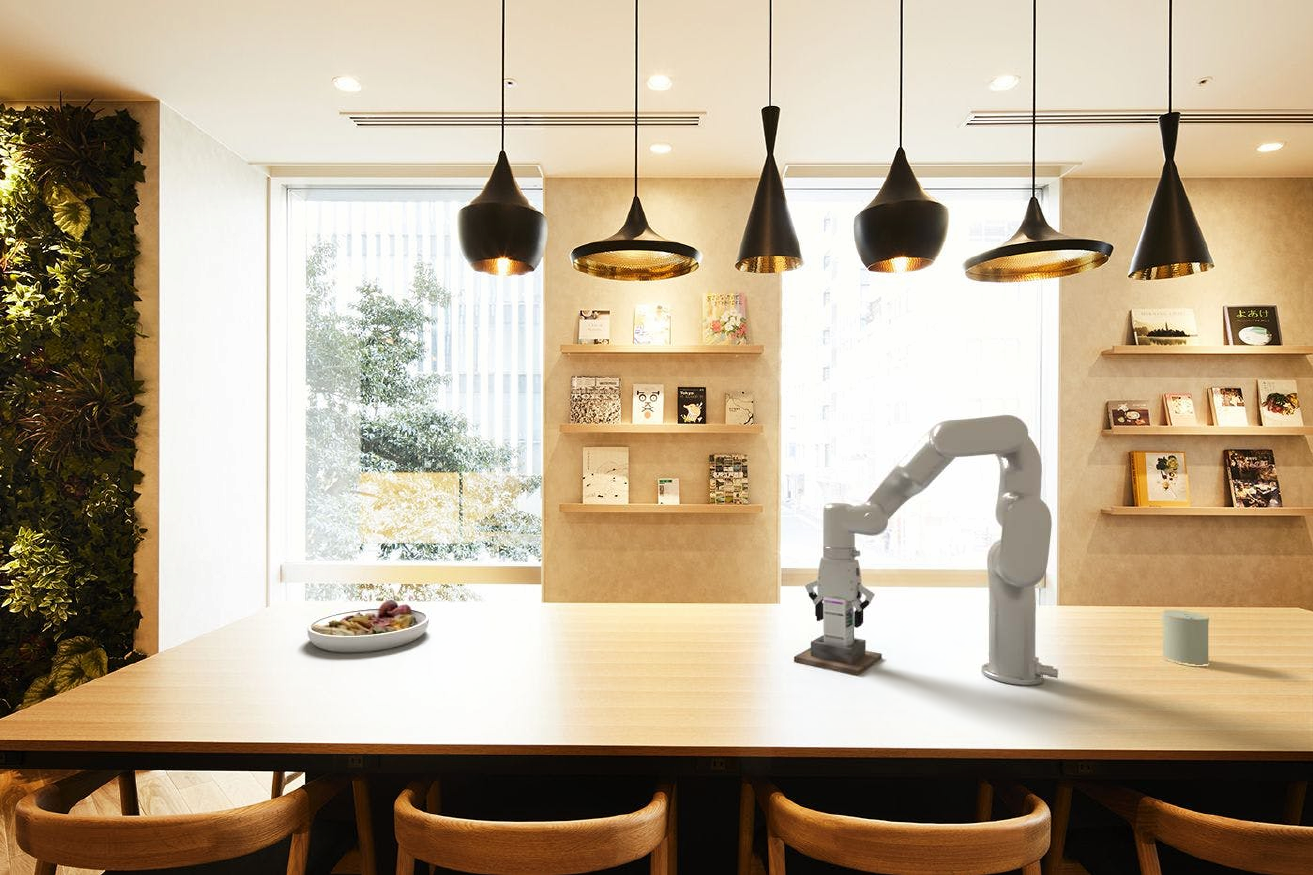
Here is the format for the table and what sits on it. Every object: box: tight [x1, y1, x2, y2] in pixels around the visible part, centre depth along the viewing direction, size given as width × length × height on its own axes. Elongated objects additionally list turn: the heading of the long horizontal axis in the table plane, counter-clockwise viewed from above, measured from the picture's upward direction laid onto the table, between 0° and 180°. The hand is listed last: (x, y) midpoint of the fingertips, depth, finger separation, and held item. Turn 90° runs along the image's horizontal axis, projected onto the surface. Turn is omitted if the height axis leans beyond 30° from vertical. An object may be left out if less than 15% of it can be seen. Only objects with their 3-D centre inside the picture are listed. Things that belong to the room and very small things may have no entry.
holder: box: [793, 634, 883, 677], centre depth 165 cm, size 16×16×5 cm
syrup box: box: [822, 597, 855, 647], centre depth 165 cm, size 6×6×14 cm
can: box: [1161, 609, 1210, 665], centre depth 167 cm, size 9×9×12 cm
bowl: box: [306, 599, 430, 654], centre depth 181 cm, size 30×30×8 cm
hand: (838, 623), depth 165 cm, fingers open, 9 cm apart
